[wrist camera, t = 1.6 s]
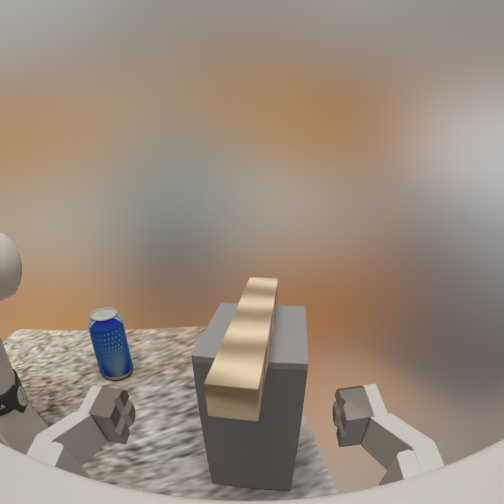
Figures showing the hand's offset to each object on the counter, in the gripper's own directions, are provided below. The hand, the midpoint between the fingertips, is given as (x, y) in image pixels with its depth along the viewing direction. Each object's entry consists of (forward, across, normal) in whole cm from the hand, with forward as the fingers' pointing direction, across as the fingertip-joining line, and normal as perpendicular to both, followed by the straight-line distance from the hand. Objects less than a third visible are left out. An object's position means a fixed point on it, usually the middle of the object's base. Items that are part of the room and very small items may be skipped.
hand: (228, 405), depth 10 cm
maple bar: (+19, 0, +12) cm, 23 cm away
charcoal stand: (+20, +1, +38) cm, 43 cm away
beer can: (+42, +34, +40) cm, 67 cm away
